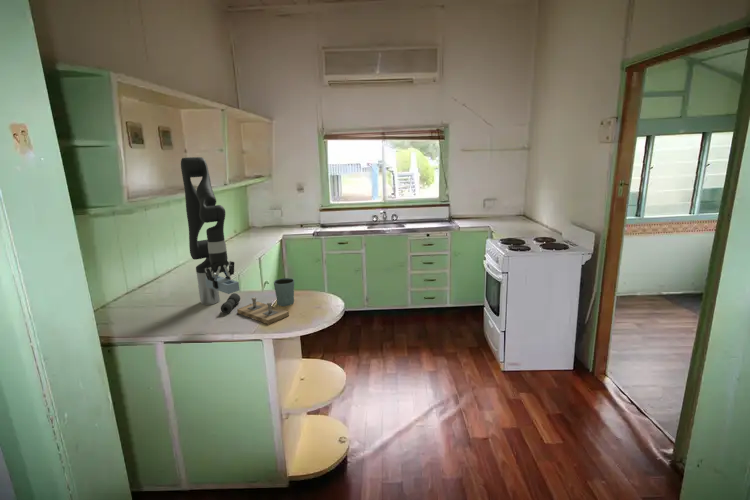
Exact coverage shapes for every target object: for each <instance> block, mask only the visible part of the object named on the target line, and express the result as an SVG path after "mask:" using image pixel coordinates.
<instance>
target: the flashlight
mask: <svg viewBox="0 0 750 500" xmlns="http://www.w3.org/2000/svg"><path fill="white" fill-rule="evenodd" d="M240 301H241V295H240V294H239V293H237V292H233V293H230V294H229V296H228V298H227V300H226V301H224V302H223V303H222V304H221V306H220V312H221V313H222V314H230V313H231V312H232V310H233V308H234V307H235V306H236V305H238V303H239V302H240Z"/></svg>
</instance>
